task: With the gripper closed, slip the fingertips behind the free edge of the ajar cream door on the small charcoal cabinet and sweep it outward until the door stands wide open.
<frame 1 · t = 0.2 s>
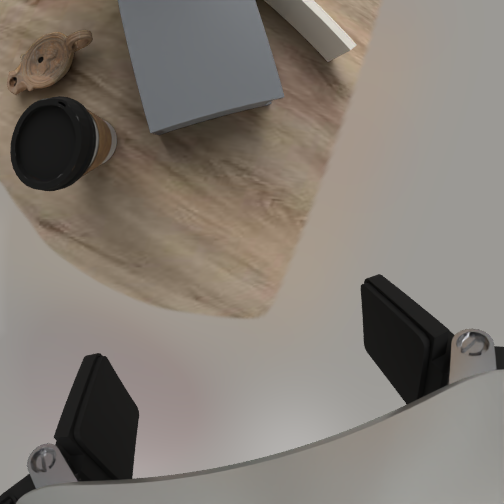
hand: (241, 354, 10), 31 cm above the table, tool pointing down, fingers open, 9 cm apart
oil lamp: (55, 64, 30), on the table
cabinet: (194, 45, 32), on the table
door: (294, 2, 29), point 4 cm above the table, hinge at 30.0°
coffee cup: (95, 142, 34), on the table
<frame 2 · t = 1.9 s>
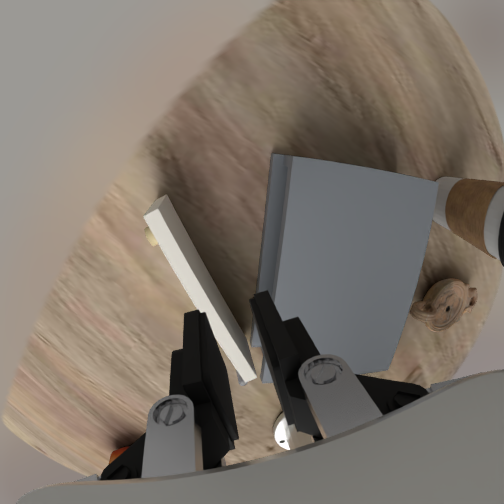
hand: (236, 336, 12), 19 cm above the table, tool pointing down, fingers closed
oil lamp: (434, 296, 38), on the table
cabinet: (325, 259, 33), on the table
door: (200, 295, 28), point 4 cm above the table, hinge at 30.0°
coffee cup: (443, 200, 33), on the table
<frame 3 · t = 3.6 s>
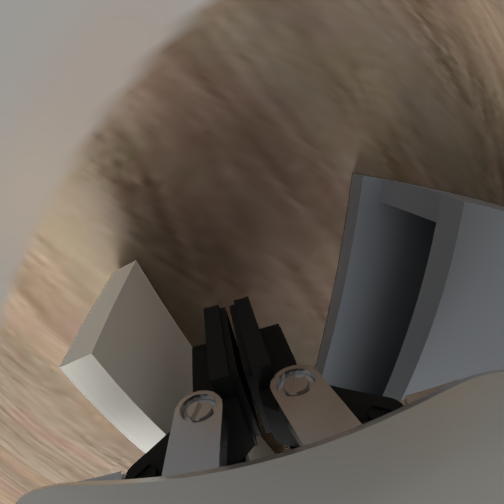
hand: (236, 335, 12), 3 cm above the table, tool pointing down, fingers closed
cabinet: (415, 350, 18), on the table
door: (215, 449, 13), point 4 cm above the table, hinge at 30.1°, touching gripper
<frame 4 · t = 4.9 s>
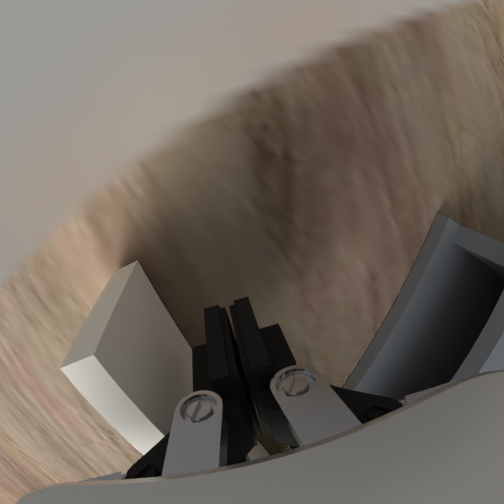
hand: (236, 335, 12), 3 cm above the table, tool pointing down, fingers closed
cabinet: (424, 380, 19), on the table
door: (212, 452, 13), point 4 cm above the table, hinge at 46.2°, touching gripper
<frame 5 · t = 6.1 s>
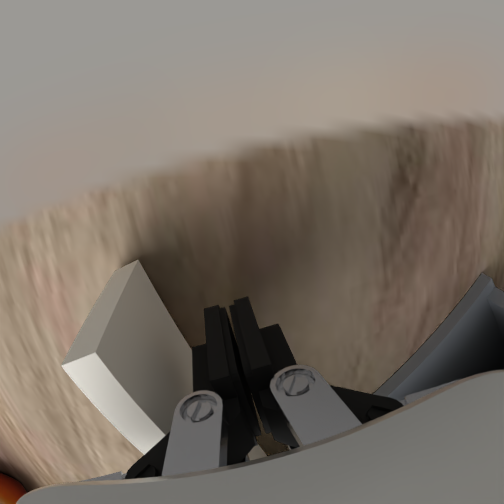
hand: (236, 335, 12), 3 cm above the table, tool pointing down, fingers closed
fruit: (8, 480, 17), on the table
cabinet: (420, 413, 20), on the table
door: (210, 452, 13), point 4 cm above the table, hinge at 65.6°, touching gripper
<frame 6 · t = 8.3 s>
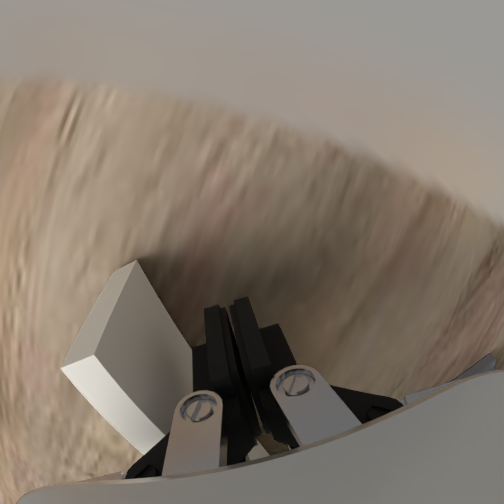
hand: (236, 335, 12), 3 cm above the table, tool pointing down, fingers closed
cabinet: (396, 454, 22), on the table
door: (212, 451, 13), point 4 cm above the table, hinge at 94.3°, touching gripper
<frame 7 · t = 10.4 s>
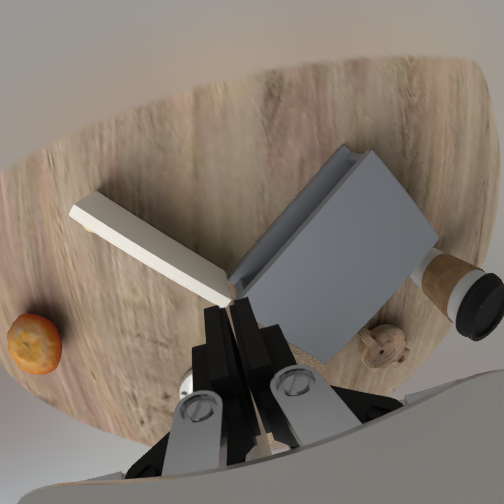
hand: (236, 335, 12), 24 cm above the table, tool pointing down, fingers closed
fruit: (45, 329, 36), on the table
oil lamp: (375, 337, 45), on the table
cabinet: (325, 246, 38), on the table
door: (153, 251, 31), point 4 cm above the table, hinge at 94.3°
coffee cup: (423, 264, 42), on the table
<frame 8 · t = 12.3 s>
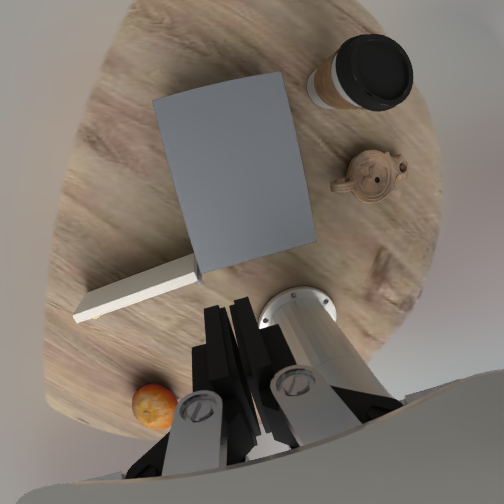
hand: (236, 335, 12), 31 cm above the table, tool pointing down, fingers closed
fruit: (157, 391, 50), on the table
oil lamp: (362, 174, 43), on the table
cabinet: (232, 167, 40), on the table
door: (137, 290, 39), point 4 cm above the table, hinge at 94.3°
coffee cup: (326, 88, 38), on the table
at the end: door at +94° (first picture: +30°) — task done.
